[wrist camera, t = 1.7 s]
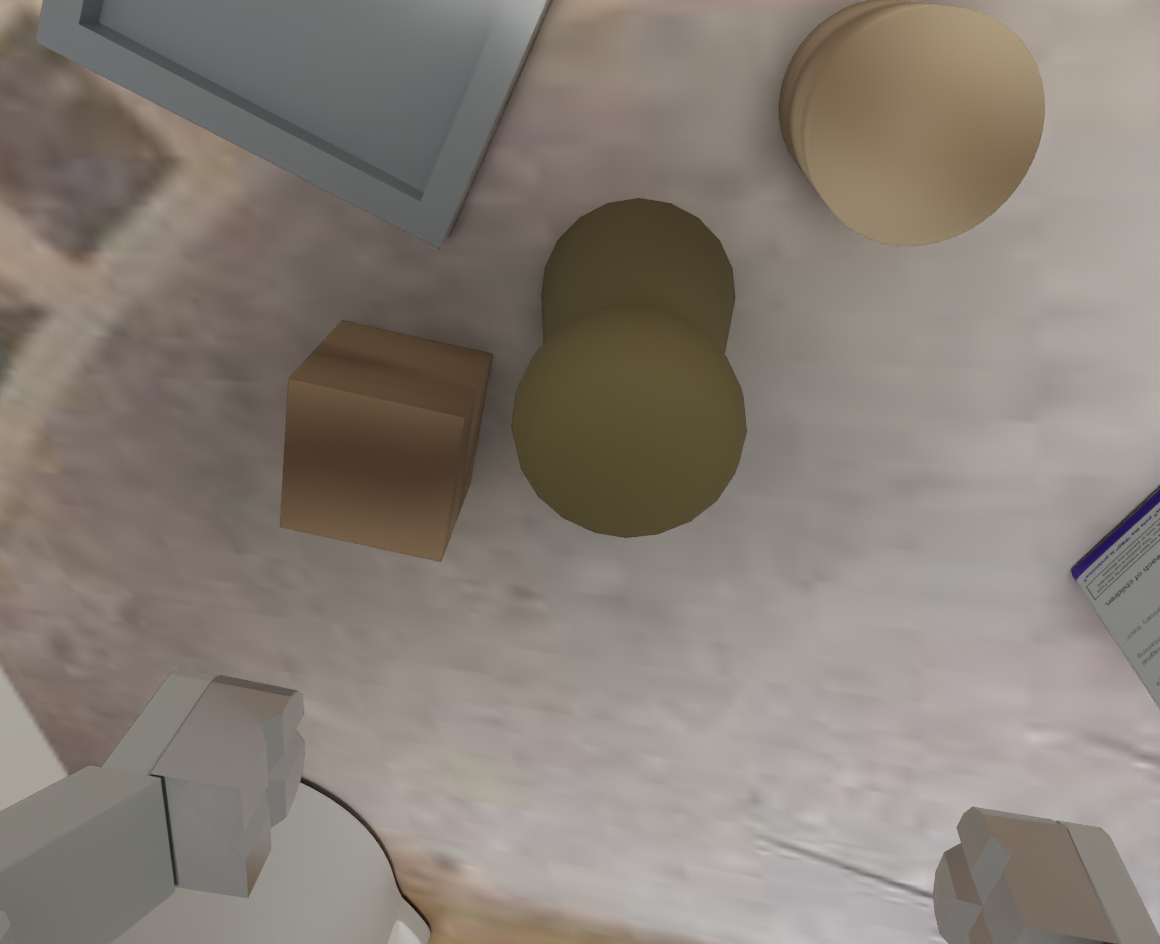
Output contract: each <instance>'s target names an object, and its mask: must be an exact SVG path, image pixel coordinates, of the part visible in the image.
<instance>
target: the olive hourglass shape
mask: <svg viewBox="0 0 1160 944" xmlns="http://www.w3.org/2000/svg"><path fill="white" fill-rule="evenodd" d="M541 299H542V321H543V342H544V345H543V346H542V347H541V348H540V349H539V350H538V351H537V352H536V353H535V354H534V356H533V358H532V360H531V362H530V364H529V366H528V368H527V370H526V372H525V374H524V376H523V378H522V380H521V382H520V384H519V386H518V389H517V391H516V394H515V402H514V411H513V419H512V431H513V436H514V440H515V445H516V449H517V453H518V458H519V462H520V466H521V470H522V471H523V473H524V474H525V476H526V478H527V479H528V481H529V483H530V484H531V486H532V487H533V489H534V491H535V492H536V494H537V495H538V497H539V498H541V499H542V500H543V501H544V502H545V503H546V504H547V505H549V506H550V507H551V508H552V509H553V510H554V511H556V512H557V513H558V514H559V515H560V516H561V517H563V518H564V519H566V520H569V521H571V522H573V523H575V524H577V525H579V526H582V527H584V528H586V529H588V530H590V531H593V532H595V533H599V534H606V535H612V536H618V537H624V538H628V537H638V536H647V535H656V534H660V533H662V532H665V531H667V530H670V529H672V528H675V527H677V526H680V525H682V524H685V523H687V522H690V521H692V520H693V519H694V518H696V517H697V516H698V515H699V514H701V513H702V512H703V511H704V510H706V509H707V508H708V507H709V506H711V505H712V504H713V503H715V502H716V501H717V500H718V498H719V497H720V495H721V494H722V492H723V491H724V489H725V488H726V486H727V485H728V483H729V482H730V480H731V479H732V477H733V476H734V474H735V472H736V469H737V467H738V464H739V460H740V456H741V452H742V449H743V445H744V441H745V437H746V433H747V428H746V418H745V408H744V398H743V394H742V389H741V386H740V384H739V382H738V380H737V378H736V376H735V374H734V372H733V370H732V367H731V365H730V363H729V361H728V359H727V357H726V356H725V355H724V354H725V349H726V343H727V338H728V333H729V328H730V322H731V317H732V312H733V307H734V301H735V291H734V281H733V271H732V267H731V264H730V262H729V260H728V258H727V256H726V253H725V251H724V249H723V247H722V245H721V242H720V240H719V239H718V238H717V237H716V236H715V235H714V234H713V233H712V232H711V231H710V230H709V229H708V228H707V227H706V226H705V225H704V224H703V223H702V221H701V220H700V219H699V218H697V217H695V216H693V215H692V214H690V213H688V212H686V211H684V210H682V209H680V208H678V207H676V206H674V205H672V204H671V203H665V202H659V201H653V200H646V199H640V198H638V199H631V200H625V201H619V202H613V203H607V204H605V205H603V206H601V207H600V208H598V209H596V210H594V211H592V212H590V213H588V214H586V215H584V216H582V217H580V218H579V219H578V220H577V221H576V222H575V223H574V224H573V225H572V226H571V227H570V228H569V229H568V230H567V231H566V232H565V233H564V234H563V235H562V236H561V237H560V239H559V240H558V241H557V243H556V245H555V247H554V249H553V252H552V254H551V256H550V258H549V260H548V262H547V264H546V266H545V271H544V279H543V287H542V295H541Z"/></svg>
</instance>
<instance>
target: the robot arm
mask: <svg viewBox="0 0 1160 944" xmlns="http://www.w3.org/2000/svg"><path fill="white" fill-rule="evenodd" d="M303 715H304V706H303V694H302V693H301V692H299V691H298V690H293V689H288V688H283V687H278V686H273V685H268V684H263V683H258V682H253V681H248V680H243V679H238V678H233V677H228V676H223V675H220V676H218V675H213V674H208V673H203V672H198V671H193V670H188V669H183V668H179V669H178V670H176V671H175V672H173V673H172V674H170V675H169V676H168V677H167V678H166V680H165V681H164V682H163V684H162V685H161V686H160V688H159V689H158V690H157V692H156V693H155V695H154V696H153V697H152V699H151V700H150V701H149V703H148V704H147V705H146V707H145V708H144V710H143V711H142V712H141V714H140V715H139V716H138V718H137V719H136V720H135V722H134V723H133V724H132V726H131V727H130V729H129V730H128V731H127V733H126V734H125V735H124V737H123V738H122V739H121V741H120V742H119V744H118V745H117V746H116V748H115V749H114V750H113V752H112V753H111V754H110V756H109V757H108V759H107V760H106V761H105V763H104V764H103V765H102V767H97V766H90V765H88V766H87V767H85V768H83V769H81V770H79V771H77V772H75V773H73V774H71V775H69V776H67V777H66V778H64V779H62V780H60V781H58V782H56V783H54V784H52V785H50V786H48V787H47V788H45V789H43V790H41V791H39V792H37V793H35V794H33V795H31V796H29V797H27V798H26V799H24V800H22V801H20V802H18V803H16V804H14V805H12V806H10V807H8V808H6V809H5V810H3V811H1V812H0V944H428V941H429V939H430V930H429V928H428V926H427V924H426V923H425V922H424V920H423V919H422V918H421V917H420V916H419V914H418V913H417V912H416V911H415V910H414V909H413V908H412V907H411V906H410V905H409V904H408V903H407V902H406V901H405V900H404V899H403V898H402V896H401V894H400V893H399V890H398V888H397V886H396V883H395V879H394V876H393V873H392V870H391V867H390V864H389V862H388V860H387V858H386V856H385V854H384V852H383V850H382V849H381V847H380V846H379V844H378V843H377V841H376V840H375V839H374V837H373V836H372V835H371V834H370V833H369V831H368V830H367V829H366V828H365V827H364V826H363V825H362V824H361V823H360V822H359V821H358V820H357V819H356V818H355V817H354V816H352V815H351V814H350V813H349V812H348V811H346V810H345V809H344V808H343V807H341V806H340V805H338V804H337V803H336V802H334V801H333V800H331V799H330V798H328V797H326V796H325V795H323V794H322V793H320V792H318V791H316V790H314V789H312V788H311V787H309V786H306V785H304V784H302V783H300V780H301V776H302V772H303V764H304V757H305V741H304V739H303V738H302V737H301V736H300V734H299V733H298V732H297V731H296V729H297V727H298V725H299V723H300V721H301V719H302V717H303ZM956 828H957V831H958V834H959V837H960V841H961V843H960V844H958V845H957V846H955V847H953V848H951V849H949V850H947V851H946V852H944V854H943V856H942V858H941V860H940V863H939V865H938V867H937V870H936V873H935V882H934V890H933V900H934V911H935V916H936V921H937V925H938V929H939V933H940V934H941V936H942V937H943V938H944V939H945V940H946V941H947V942H948V943H949V944H1160V936H1159V934H1158V932H1157V930H1156V928H1155V926H1154V924H1153V922H1152V920H1151V918H1150V916H1149V914H1148V912H1147V910H1146V908H1145V906H1144V904H1143V902H1142V900H1141V898H1140V896H1139V894H1138V892H1137V890H1136V888H1135V886H1134V884H1133V881H1132V879H1131V877H1130V875H1129V873H1128V871H1127V869H1126V867H1125V865H1124V863H1123V861H1122V859H1121V857H1120V855H1119V853H1118V851H1117V849H1116V847H1115V845H1114V843H1113V841H1112V839H1111V838H1110V836H1109V835H1108V834H1107V833H1106V832H1105V831H1104V830H1103V829H1102V828H1100V827H1094V826H1088V825H1082V824H1076V823H1069V822H1063V821H1053V820H1051V819H1045V818H1039V817H1033V816H1027V815H1021V814H1015V813H1008V812H1002V811H996V810H990V809H984V808H978V807H971V808H970V809H969V810H967V811H966V812H965V813H964V814H963V816H962V818H961V820H960V822H959V824H958V825H957V827H956Z"/></svg>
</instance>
